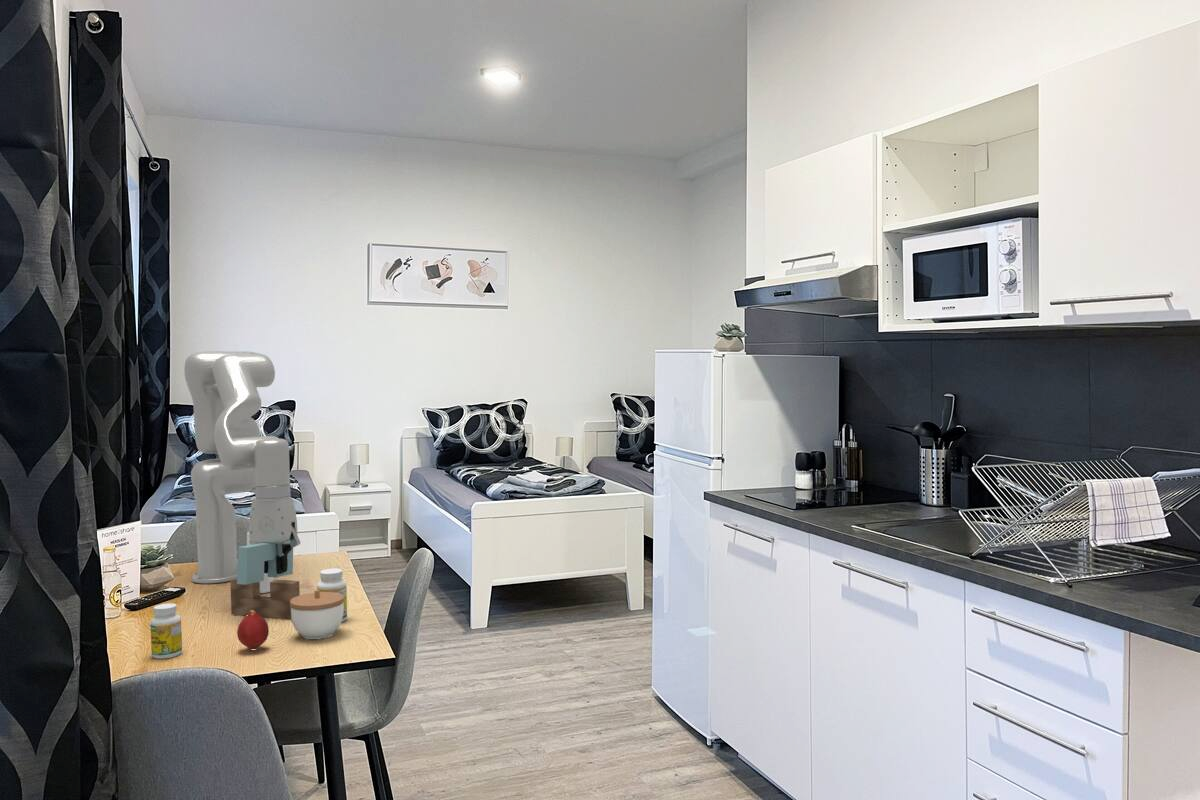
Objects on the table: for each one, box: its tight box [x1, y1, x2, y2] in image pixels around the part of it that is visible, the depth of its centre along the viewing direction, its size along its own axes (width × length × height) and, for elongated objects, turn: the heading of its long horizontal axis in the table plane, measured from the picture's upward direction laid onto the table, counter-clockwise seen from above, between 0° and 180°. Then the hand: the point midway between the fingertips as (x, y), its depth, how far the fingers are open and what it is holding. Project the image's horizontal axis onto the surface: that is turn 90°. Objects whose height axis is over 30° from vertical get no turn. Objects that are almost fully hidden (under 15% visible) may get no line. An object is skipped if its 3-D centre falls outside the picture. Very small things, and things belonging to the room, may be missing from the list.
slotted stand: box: [229, 578, 301, 620], centre depth 197 cm, size 16×2×8 cm, turn 75°
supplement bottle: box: [149, 603, 183, 660], centre depth 171 cm, size 5×5×10 cm
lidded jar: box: [290, 589, 344, 640], centre depth 182 cm, size 11×11×9 cm
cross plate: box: [237, 540, 294, 585], centre depth 199 cm, size 16×2×8 cm, turn 163°
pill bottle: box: [316, 568, 348, 623], centre depth 193 cm, size 6×6×11 cm
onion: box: [236, 610, 270, 650], centre depth 173 cm, size 6×6×8 cm
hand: (275, 571), depth 202 cm, fingers closed on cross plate, 2 cm apart
